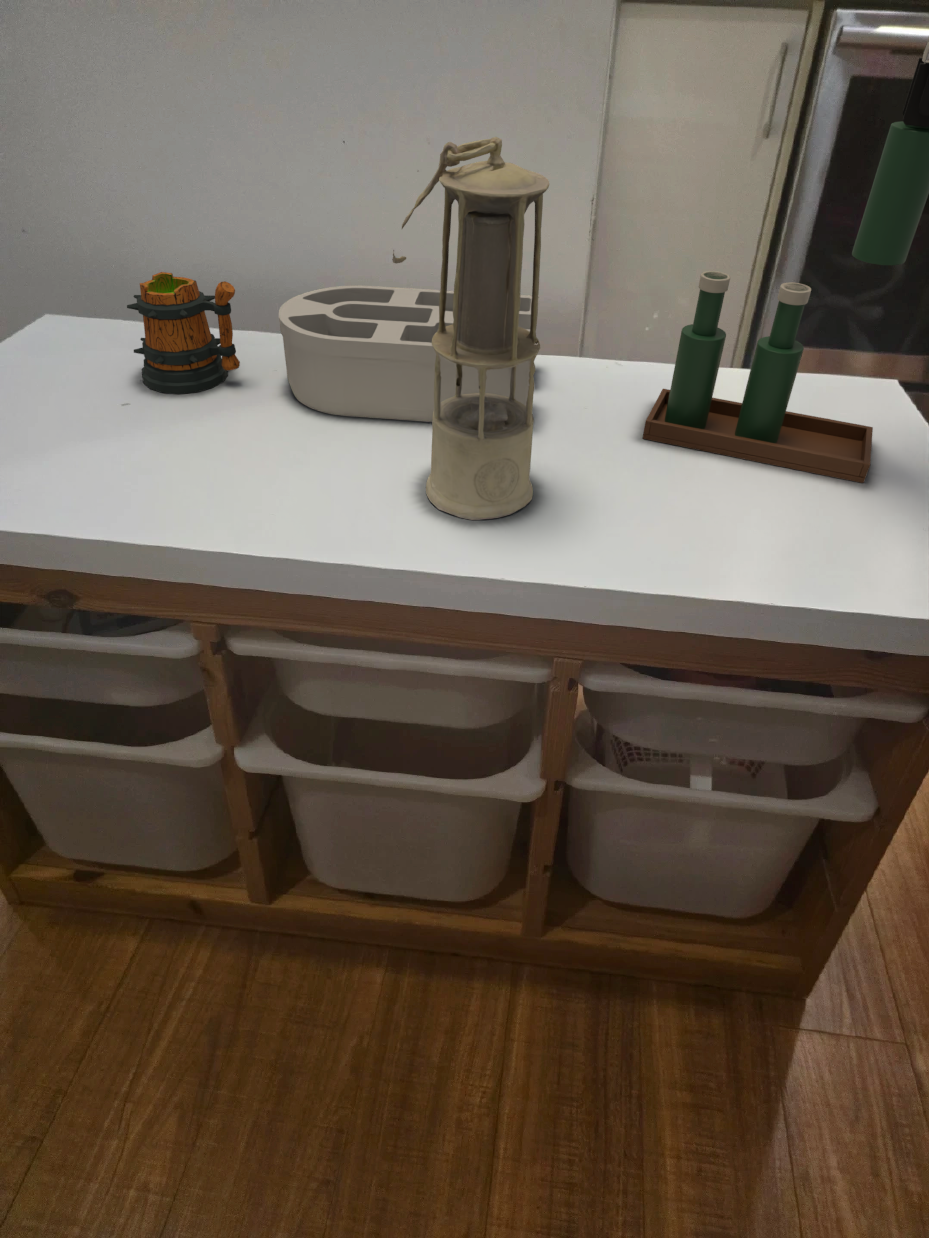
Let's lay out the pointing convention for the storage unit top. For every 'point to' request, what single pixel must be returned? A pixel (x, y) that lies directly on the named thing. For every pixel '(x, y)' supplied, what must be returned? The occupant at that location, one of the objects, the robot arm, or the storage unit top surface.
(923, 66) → the robot arm
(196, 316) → the mug
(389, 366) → the grey compartment organizer
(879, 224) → the bottle
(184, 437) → the storage unit top surface
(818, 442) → the tray
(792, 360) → the bottle mid
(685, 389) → the bottle end
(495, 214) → the lamp
